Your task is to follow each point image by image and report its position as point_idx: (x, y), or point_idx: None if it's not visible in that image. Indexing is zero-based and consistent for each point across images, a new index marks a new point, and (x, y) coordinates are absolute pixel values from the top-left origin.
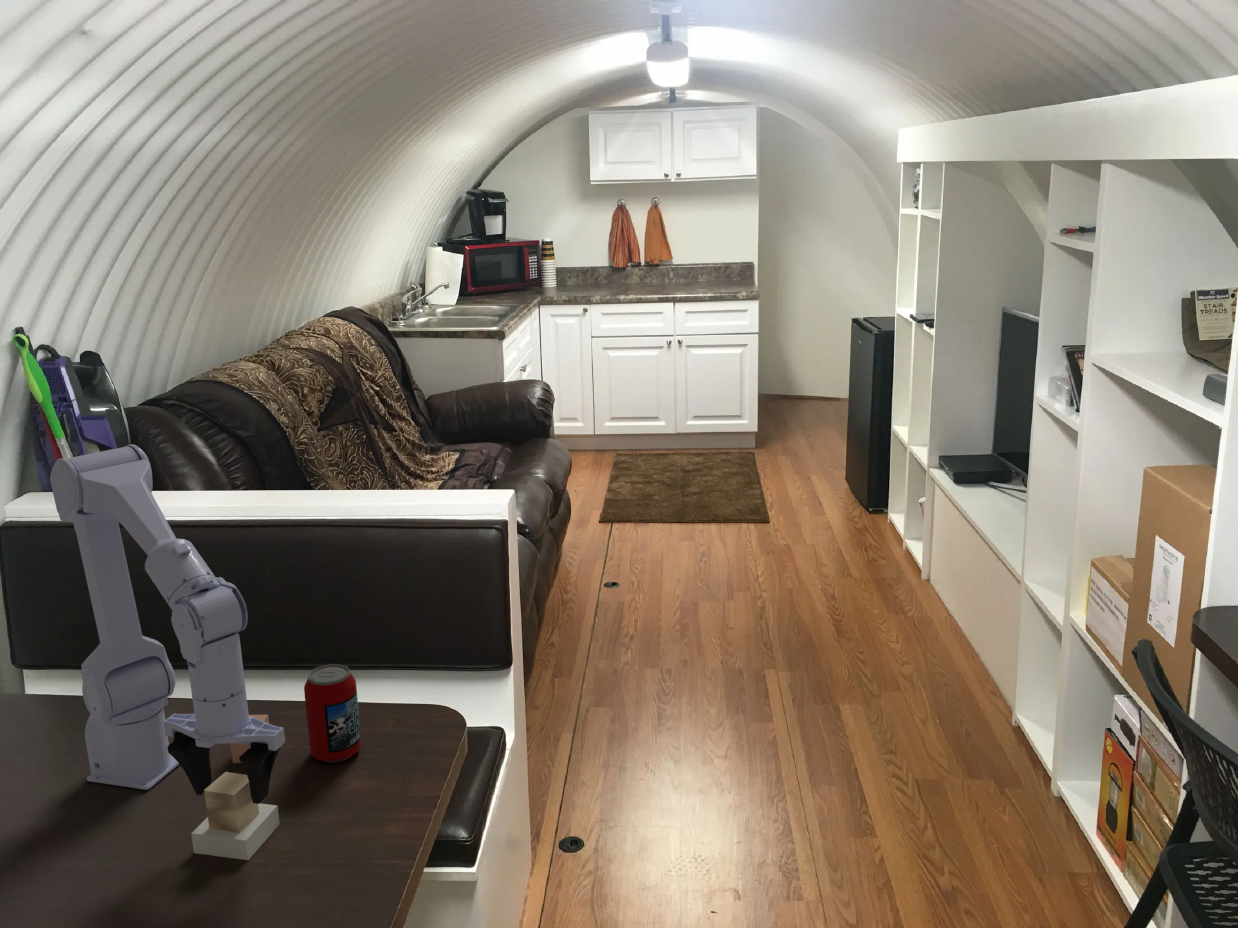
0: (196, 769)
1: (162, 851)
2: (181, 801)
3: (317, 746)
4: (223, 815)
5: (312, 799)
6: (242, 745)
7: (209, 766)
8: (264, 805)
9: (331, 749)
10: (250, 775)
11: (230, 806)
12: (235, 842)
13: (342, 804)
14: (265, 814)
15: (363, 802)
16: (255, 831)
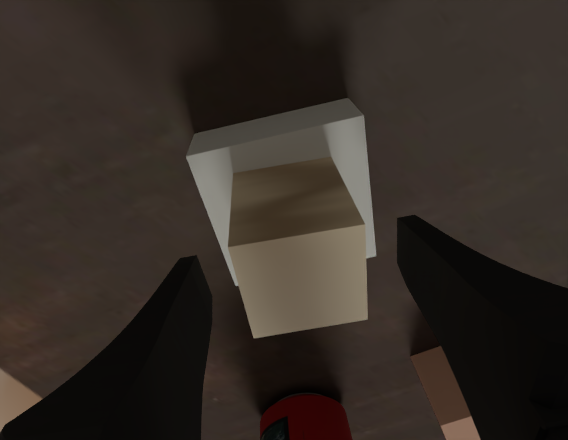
0: (446, 285)
1: (433, 65)
2: (499, 225)
3: (310, 422)
4: (281, 188)
5: (239, 325)
6: None
7: (426, 316)
8: None
9: (283, 424)
10: (136, 343)
11: (249, 213)
12: (221, 143)
13: None
14: None
15: None
16: (202, 197)
